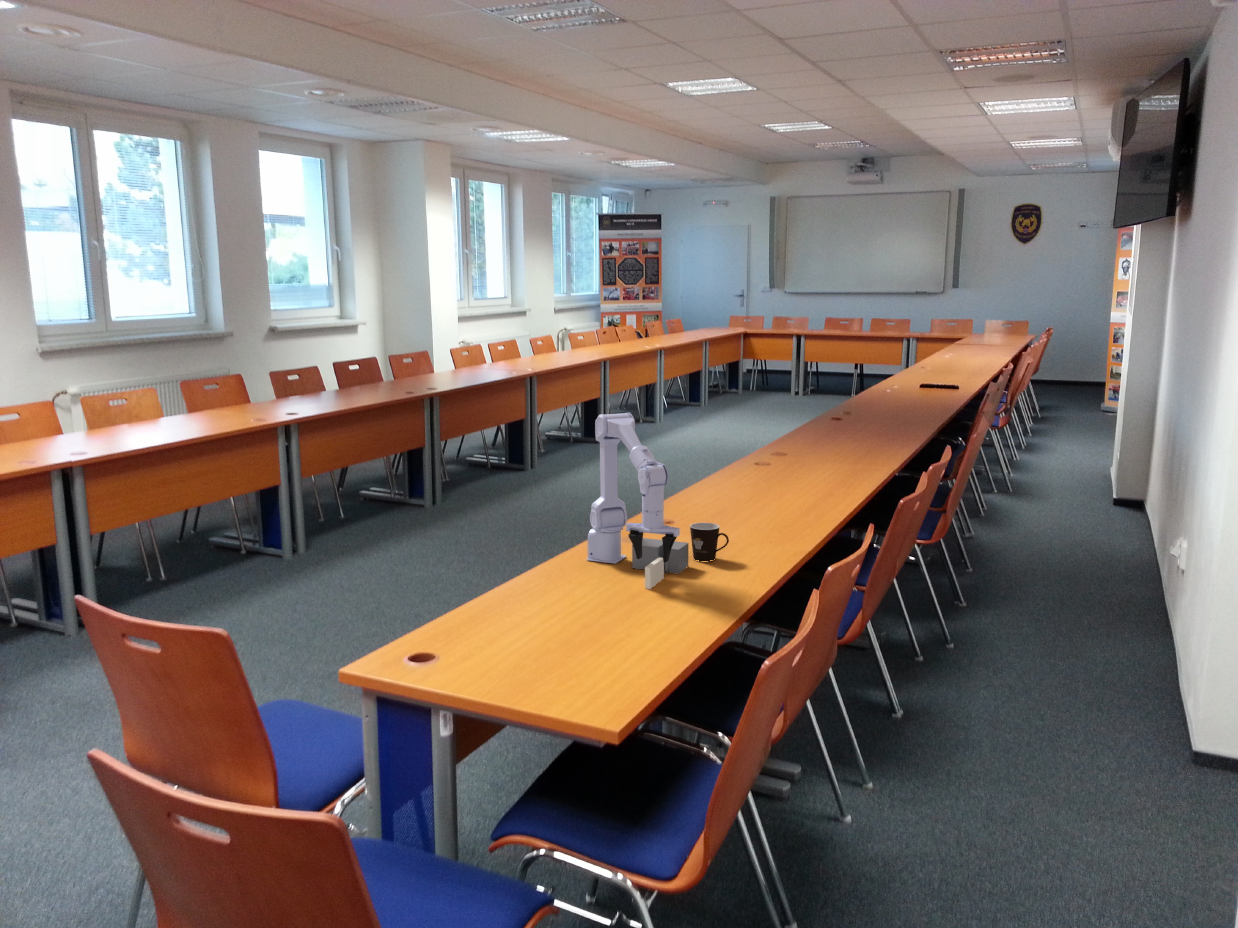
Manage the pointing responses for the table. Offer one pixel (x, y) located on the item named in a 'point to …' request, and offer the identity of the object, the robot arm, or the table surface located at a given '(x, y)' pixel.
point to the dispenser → (655, 550)
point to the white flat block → (654, 573)
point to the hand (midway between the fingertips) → (652, 559)
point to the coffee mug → (705, 540)
